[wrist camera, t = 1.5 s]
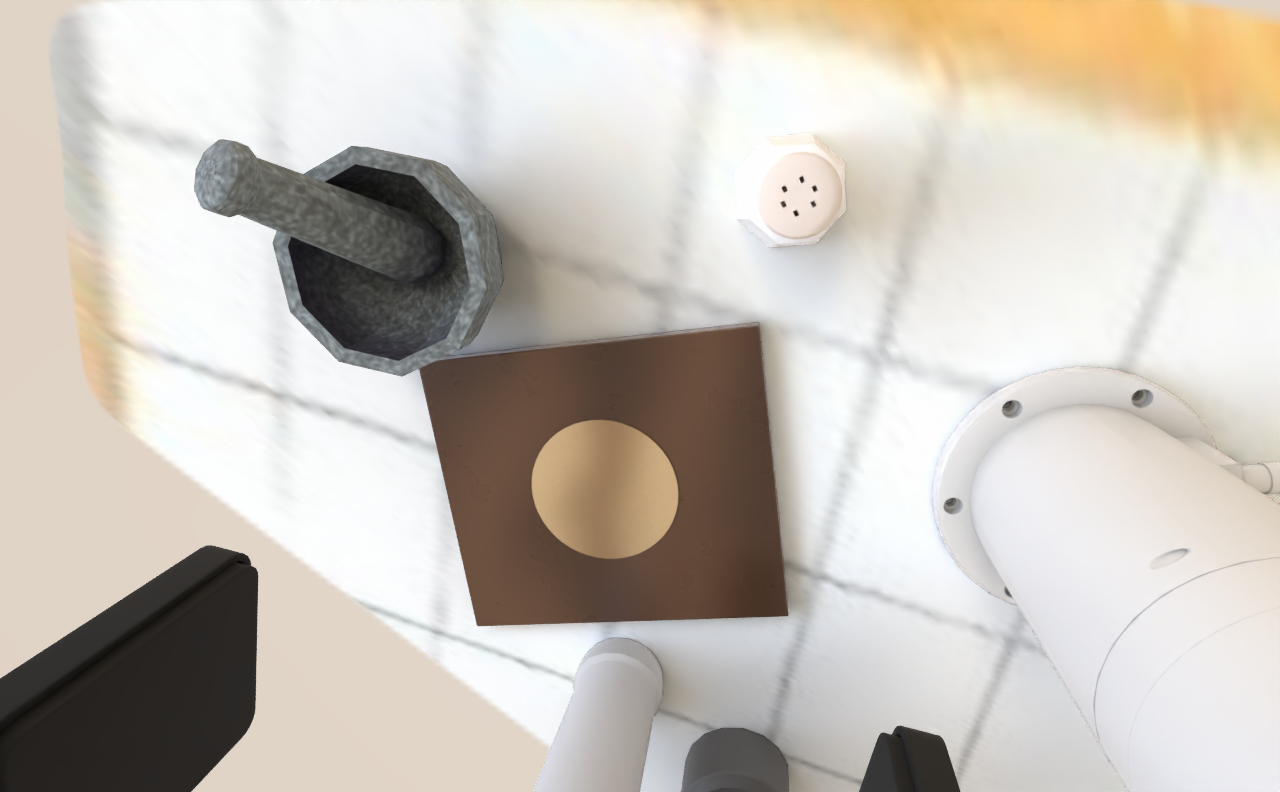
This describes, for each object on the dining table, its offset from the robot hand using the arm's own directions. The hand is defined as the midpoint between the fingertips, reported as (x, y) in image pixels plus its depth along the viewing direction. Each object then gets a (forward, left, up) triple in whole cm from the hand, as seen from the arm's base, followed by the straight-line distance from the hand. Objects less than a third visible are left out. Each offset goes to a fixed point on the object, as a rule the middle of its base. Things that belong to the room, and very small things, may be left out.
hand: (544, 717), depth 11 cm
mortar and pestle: (+13, -6, -28) cm, 32 cm away
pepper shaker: (-5, -6, -28) cm, 29 cm away
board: (+6, +8, -28) cm, 30 cm away
